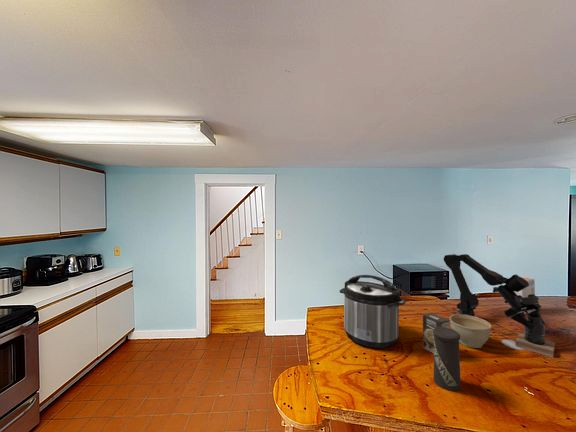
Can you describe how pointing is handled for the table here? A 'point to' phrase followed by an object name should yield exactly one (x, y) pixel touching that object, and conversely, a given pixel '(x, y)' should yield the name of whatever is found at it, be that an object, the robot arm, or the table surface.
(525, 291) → the cracker box
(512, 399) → the table surface
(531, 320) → the supplement bottle
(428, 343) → the coffee box
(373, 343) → the pressure cooker
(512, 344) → the grey coaster
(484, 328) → the planter bowl
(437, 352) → the container
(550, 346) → the light brown block
